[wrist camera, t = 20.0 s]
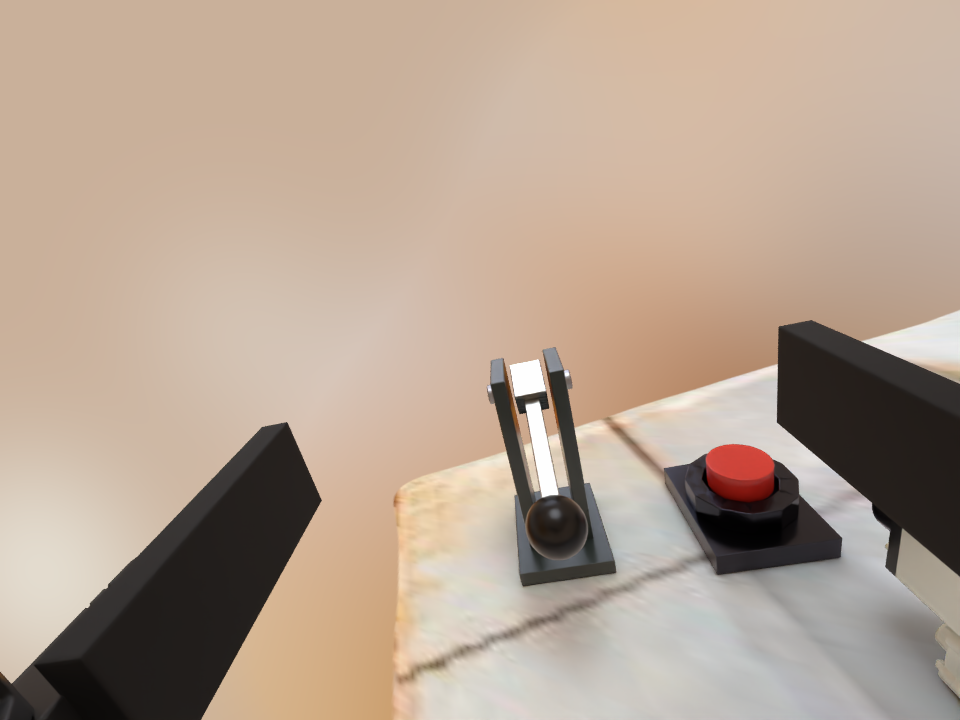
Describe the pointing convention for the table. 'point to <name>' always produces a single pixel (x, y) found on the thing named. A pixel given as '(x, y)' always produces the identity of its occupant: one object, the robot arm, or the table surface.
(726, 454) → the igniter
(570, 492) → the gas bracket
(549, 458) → the lever
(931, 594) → the pneumatic valve
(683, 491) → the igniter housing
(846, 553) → the table surface
